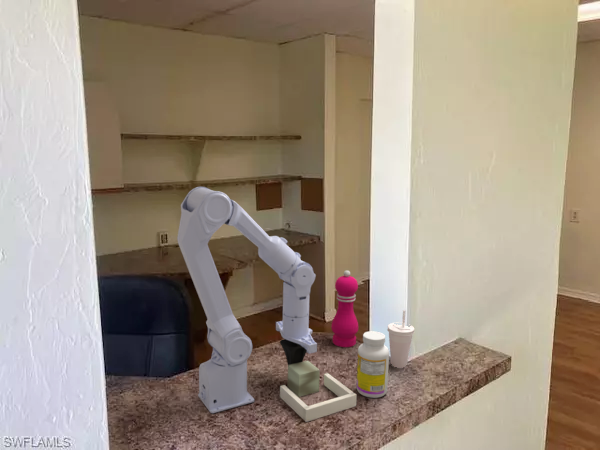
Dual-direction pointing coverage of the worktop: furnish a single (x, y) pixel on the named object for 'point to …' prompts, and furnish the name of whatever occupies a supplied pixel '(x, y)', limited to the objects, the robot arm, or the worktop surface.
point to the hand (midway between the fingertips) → (294, 371)
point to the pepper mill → (345, 312)
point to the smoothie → (400, 342)
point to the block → (303, 378)
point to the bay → (323, 408)
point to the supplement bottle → (372, 365)
